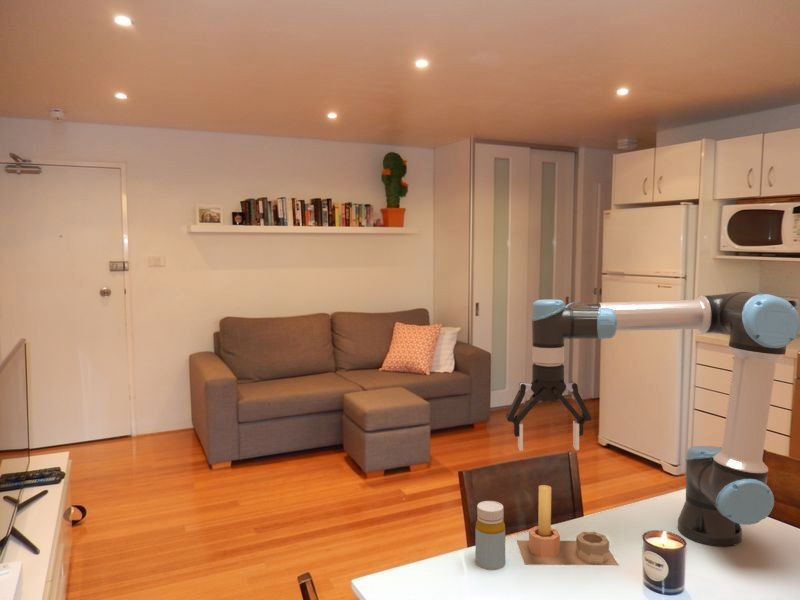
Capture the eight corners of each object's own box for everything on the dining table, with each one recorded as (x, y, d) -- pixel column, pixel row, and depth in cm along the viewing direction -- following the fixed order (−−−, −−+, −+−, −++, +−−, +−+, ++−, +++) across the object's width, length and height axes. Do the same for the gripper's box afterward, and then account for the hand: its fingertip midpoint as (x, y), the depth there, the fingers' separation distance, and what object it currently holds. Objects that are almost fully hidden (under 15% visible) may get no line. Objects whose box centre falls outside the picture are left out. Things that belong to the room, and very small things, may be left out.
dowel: (549, 546, 150) (549, 485, 149) (551, 552, 147) (552, 489, 146) (537, 546, 151) (537, 485, 149) (539, 552, 148) (540, 489, 146)
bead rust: (555, 543, 152) (555, 526, 152) (561, 557, 145) (561, 539, 145) (527, 543, 153) (527, 526, 152) (532, 557, 146) (532, 539, 145)
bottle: (507, 562, 146) (507, 502, 145) (502, 576, 139) (502, 514, 138) (478, 557, 148) (478, 498, 147) (472, 572, 141) (472, 510, 140)
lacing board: (603, 545, 153) (603, 540, 153) (618, 569, 142) (618, 564, 141) (516, 544, 154) (516, 540, 154) (524, 569, 142) (524, 564, 142)
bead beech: (602, 549, 149) (602, 531, 149) (611, 563, 142) (611, 545, 142) (574, 549, 149) (574, 531, 149) (581, 563, 142) (581, 545, 142)
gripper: (595, 359, 149) (594, 443, 151) (494, 361, 150) (495, 444, 152) (604, 365, 142) (604, 453, 143) (498, 366, 142) (499, 454, 144)
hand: (548, 448), depth 147 cm, fingers open, 13 cm apart
